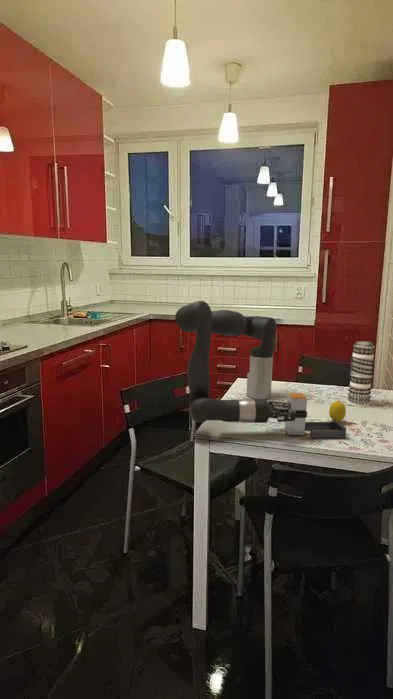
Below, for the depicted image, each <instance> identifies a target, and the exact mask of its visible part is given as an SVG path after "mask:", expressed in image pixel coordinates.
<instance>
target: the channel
mask: <svg viewBox="0 0 393 699" xmlns="http://www.w3.org/2000/svg"><path fill="white" fill-rule="evenodd" d="M305 431H310V432H309V438H310V439H311V440H330V439H331V440H332V439H333V440H336V439H337V440H341V439H346V438H347V437H346V436H347V427H346V426H344V425H343V424H342V422H340V421H338V420H337V419H331V421H305Z"/></svg>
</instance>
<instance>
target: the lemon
mask: <svg viewBox="0 0 393 699" xmlns="http://www.w3.org/2000/svg"><path fill="white" fill-rule="evenodd" d="M346 410H347V409H346V406H345V404H344V403H343V402H342V401H340V400H336V401H333V402H332V403H331V404H330V406H329V411H328V413H329V417H330V418H331V420H332V419H337V420H338V421H339V422H340V421H342V420H344V419H345V417H346V414H347V413H346V412H347V411H346Z"/></svg>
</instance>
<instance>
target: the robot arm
mask: <svg viewBox="0 0 393 699" xmlns="http://www.w3.org/2000/svg"><path fill="white" fill-rule="evenodd" d="M174 318H175V323H176V325H177V327H178V328H179V329H181V330H182V331H183V332H185V333H196V337H195V342H194V346H193V349H192V351H191V355H190V356H189V360H188V363H187V364H188V365H187V380H188V382H187V383H188V384H187V385H188V389H189V390H188V391H189V394H188V414H189V417H190V418H191V419H192V420H193V422H195V423H198V424H199V423H201V424H202V423H205V422H206V421H221V422H225V423H226V422H227V423H243V424H266V423H267V422H268V421H269V419H270V418H271V419H274V420H276V421H277V423H285V422H286V421H295V418H306V419H307V418H308V411H307V410H306V411H295V410H289V409H288V408H286V407H287V402H285V401H284V402H282V401H272V400H269V399H270V398H271V397H272V396H271V395H272V382H273V381H272V380H273V362H274V360H273V359H274V352H275V348H276V347H275V346H276V340H277V339H276V338H277V330H278V328H277V320H275V318H273V317H269V316H260V315H251V316H249V315H244V314H242V313H241V312H238V311H235V310H234V311H233V310H230V309H229V310H228V309H222V310H221V309H220V310H213V311H212V308H211V306H210V305H209V304H208V303H207V302H206V301H204V300H197V301H194V302H192V303H188V304H186V305H183V306H181V307H180V308H179V309H178V310H177V311H176V313H175V316H174ZM212 334H215V335H216V334H217V335H223V336H230V337H235V336H236V337H237V336H239V335H243V336H247V337H249V338H252V339H256V340H257V339H258V340H261V342H260V344H259V345H258V346H255V347H252V348H251V349H250V353H249V354H250V356H249V372H247V375H246V395H245V396H248V397H249V398H243V399H218V398H210V388H211V377H210V376H211V375H210V352H211V351H210V350H211V340H212ZM267 399H268V400H269V401H268V400H267ZM288 412H289V413H288ZM289 415H291V416H289Z"/></svg>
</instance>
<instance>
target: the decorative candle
mask: <svg viewBox="0 0 393 699" xmlns="http://www.w3.org/2000/svg"><path fill="white" fill-rule="evenodd" d="M352 346H353V351H352V354H351V355H350V358H349V359H350V361H351V362H350V363H349V364H350V365H349V366H350V367H349V369H350V372H349V374H350V381H349V385H348V388H349V389H348V393H347V404H349V405H351V406H354V407H359V408H360V407H361V408H363V407H364V408H365V407H369V406H370V402H371V394H372V391H371V390H372V383H371V382H372V378H373V375H374V373H373V372H374V368H373V367H375V364H374V363H375V362H376V360H374V358H375V355H374V351H375V348H376V345H373V342H371V341H365V340H364V341H363V340H360V341H356V342H355V344H353V345H352Z"/></svg>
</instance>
